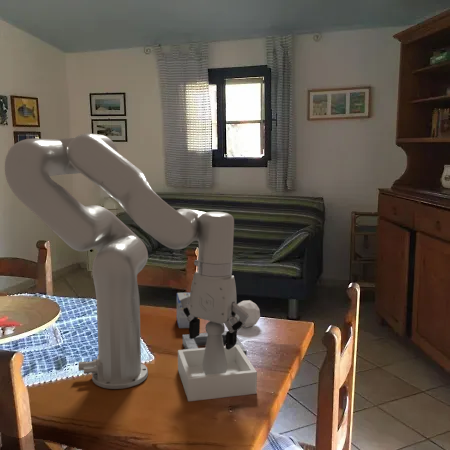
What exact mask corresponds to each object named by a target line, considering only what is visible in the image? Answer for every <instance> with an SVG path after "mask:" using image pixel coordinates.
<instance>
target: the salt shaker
mask: <svg viewBox="0 0 450 450" xmlns="http://www.w3.org/2000/svg"><path fill="white" fill-rule="evenodd" d="M225 327H226V326H225V324H224V323H223V324H221V323H216V322H212V321H208V322H207V323H206V324H205V333H208V336H207V342H206V345H205V347H204V348H205V353H204V358H203V364H202V369H203V372H204V374H205V375H211V374H221V373H226V371H227V368H228V367H227V361H226V356H225V350H224V346H225V345H224V344H223V338H222V334H223V333H224V331H226V330H225V329H226V328H225Z"/></svg>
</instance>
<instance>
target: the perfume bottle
mask: <svg viewBox="0 0 450 450" xmlns="http://www.w3.org/2000/svg"><path fill="white" fill-rule="evenodd" d="M237 305H238V306H239V307H241V308H242V309H243V310H244V311H245V312H247V313H248V315H249V317H248V318H247V320H246V322H245V324H244V325H243V326H242V328H252V327H253V326H255V325H256V324H257V323H258V321H259V320H260V319H261V313H260V308H259V306H258V305H257V304H256V303H255V302H253V301H252V300H250V299H249V300H242V301H240V302H238V303H237ZM235 319H236V321H237V322H238V320H239V316H238V315H237V314H236V316H235ZM232 326H233V325H232Z"/></svg>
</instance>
